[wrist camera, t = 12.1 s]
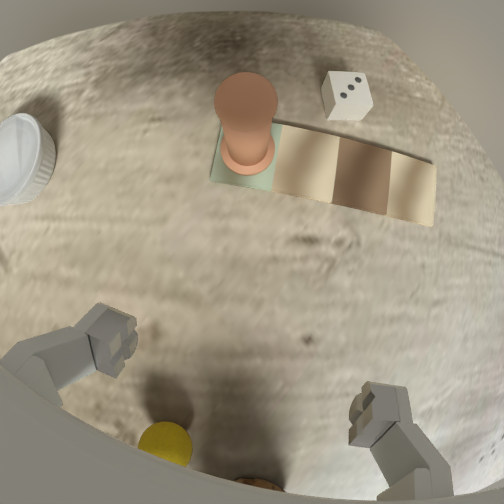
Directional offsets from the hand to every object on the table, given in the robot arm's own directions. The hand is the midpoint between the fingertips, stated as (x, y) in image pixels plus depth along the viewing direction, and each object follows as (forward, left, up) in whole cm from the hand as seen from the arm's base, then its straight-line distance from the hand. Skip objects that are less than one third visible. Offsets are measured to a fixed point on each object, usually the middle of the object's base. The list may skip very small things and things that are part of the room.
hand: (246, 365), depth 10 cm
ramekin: (+30, -9, -21) cm, 37 cm away
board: (-6, -13, -20) cm, 25 cm away
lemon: (+6, +18, -21) cm, 28 cm away
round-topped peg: (+3, -13, -20) cm, 24 cm away
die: (-6, -21, -20) cm, 30 cm away
